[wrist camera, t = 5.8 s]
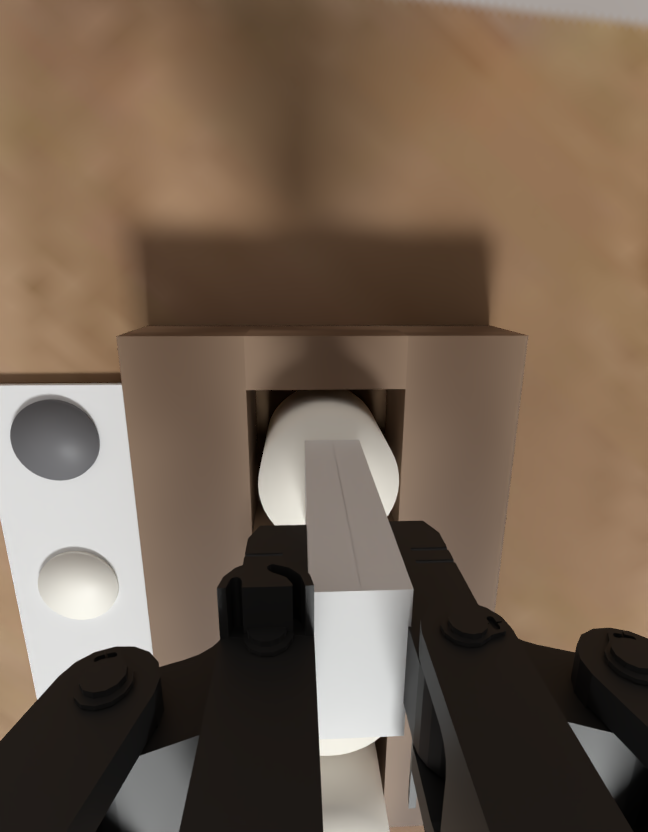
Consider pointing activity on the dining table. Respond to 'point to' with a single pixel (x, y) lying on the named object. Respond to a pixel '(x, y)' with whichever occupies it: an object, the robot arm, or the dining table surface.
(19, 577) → the card
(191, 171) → the dining table surface
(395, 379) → the board
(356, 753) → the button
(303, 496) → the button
